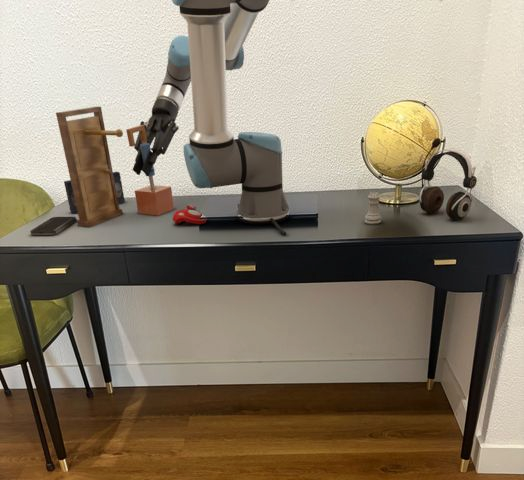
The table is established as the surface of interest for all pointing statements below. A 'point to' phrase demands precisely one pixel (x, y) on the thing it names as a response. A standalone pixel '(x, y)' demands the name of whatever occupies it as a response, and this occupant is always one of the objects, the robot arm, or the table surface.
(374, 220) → the rook chess piece
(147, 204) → the stand
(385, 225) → the table surface
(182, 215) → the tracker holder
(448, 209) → the headset
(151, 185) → the umbrella
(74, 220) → the phone
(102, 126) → the door
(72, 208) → the vhs cassette tape
